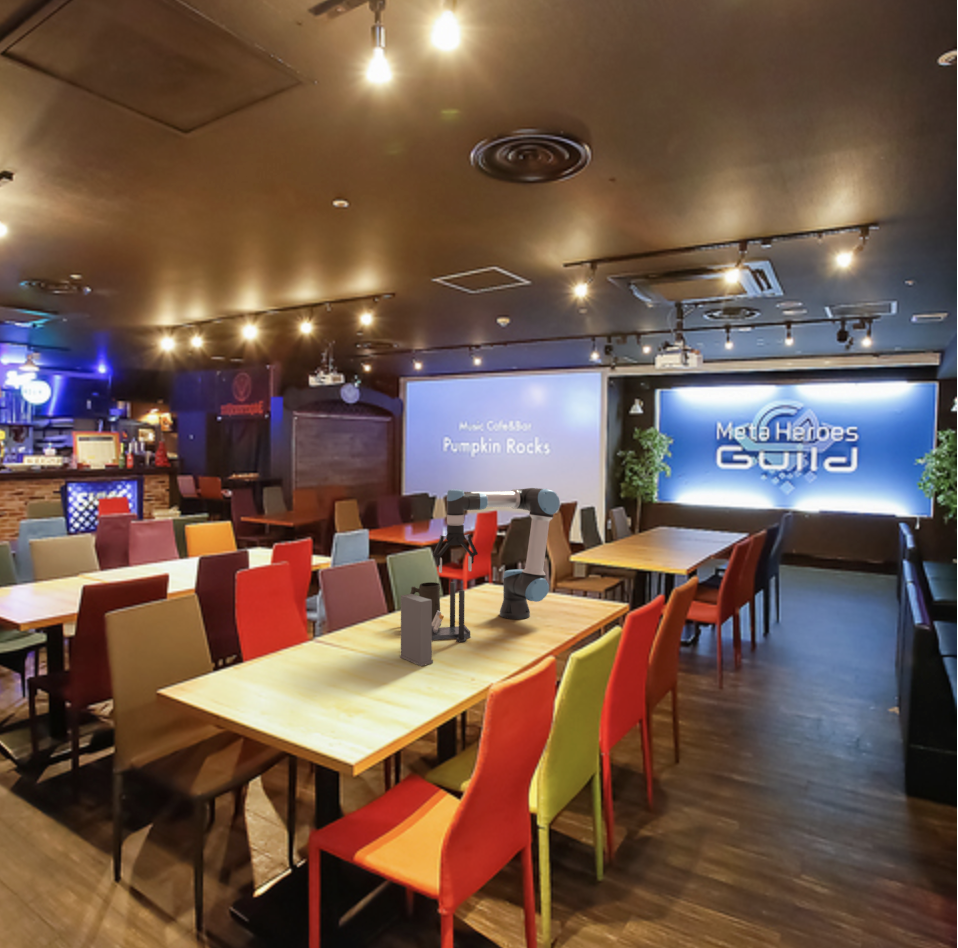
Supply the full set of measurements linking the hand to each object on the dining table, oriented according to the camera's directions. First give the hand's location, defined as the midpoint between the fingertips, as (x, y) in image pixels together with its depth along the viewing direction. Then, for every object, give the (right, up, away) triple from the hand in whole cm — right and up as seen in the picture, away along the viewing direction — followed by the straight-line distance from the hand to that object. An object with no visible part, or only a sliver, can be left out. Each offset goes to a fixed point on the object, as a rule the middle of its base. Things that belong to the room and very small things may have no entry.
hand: (455, 571), depth 289 cm
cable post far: (-2, -28, +9) cm, 30 cm away
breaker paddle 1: (-10, -25, +3) cm, 27 cm away
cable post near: (+3, -29, -9) cm, 30 cm away
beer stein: (-15, -28, +17) cm, 36 cm away
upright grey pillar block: (-14, -30, -35) cm, 48 cm away
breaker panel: (-6, -29, -1) cm, 29 cm away
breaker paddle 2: (-9, -26, -3) cm, 27 cm away
